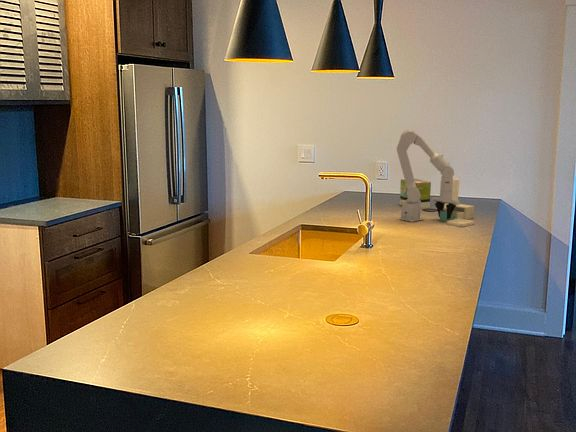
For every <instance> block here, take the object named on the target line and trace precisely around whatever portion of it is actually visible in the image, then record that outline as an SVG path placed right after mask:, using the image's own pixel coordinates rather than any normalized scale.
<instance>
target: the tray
mask: <svg viewBox="0 0 576 432" xmlns="http://www.w3.org/2000/svg"><path fill="white" fill-rule="evenodd" d="M445 224H446V225H448V226H454V227H458V228H464V227H468V226H473V225H475V220H470V219H466V220H465V219H456V218H454V220H450V221H445Z"/></svg>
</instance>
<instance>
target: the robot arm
mask: <svg viewBox="0 0 576 432" xmlns="http://www.w3.org/2000/svg"><path fill="white" fill-rule="evenodd" d="M412 144H413V145H414V146H417V147H418V146H419V147H420V148H421V149H422V150H423V152H424V153H426V155H427V156H428V157H429V163H431V164H432V166H433V167H434V168H436V170H437V171H439V172H440V175H441V179H440V191H439V197H432V198H431V202H433V203H434V206H435V209H436V210H437V215H438V217H439V218H440V210H445V209H446V208H447V219H450V218H451V215H452V212H453V210H454V208H455V207H456V205H460V204H461V202H460V201H459V200H458V201H456V200H453V199H452V188H453V178H454V176H455V171H454V168H453V167H452V166H451V165H450V163H449V162H448V161H446V159H445V158H444V155H443V154H440V153H439V152H438V153H436V152H435V151H434V150H433V148H431V147H430V146H429V144H428V143H427V142H426V140H425V139H423V138H422V136H420V135H419V134H417V133H416V132H415V131H414V130H413V129H409V128H408V129H406V130H404V131H403V132H402V134H401V135H400V138H399V140H398V143H397V146H396V152H397V156H398V159H399V163H400V168H401V171H402V175H403V177H404V178H403V179H405V182H406V186H407V197H408V199H407V200H406V203H404V204H403V205H401V208H400V209H401V210H400V217H399V220H400V221H406V222H410V223H411V222H418V221H423V220H424V218H422V217H421V209H420V208H421V201H420V200H419V199H420V197H421V194H420V192H419V189H418V188H417V187H416V184H415V180H414V179H415V178H414V173H413V170H412V167H411V162H410V159H409V155H408V152H407V151H408V150H409V148H410V146H411V145H412ZM445 203H447V204H448V205H446V208H444V205H445Z"/></svg>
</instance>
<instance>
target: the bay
mask: <svg viewBox="0 0 576 432" xmlns="http://www.w3.org/2000/svg"><path fill="white" fill-rule="evenodd" d="M474 215H475V206H474V205H469V204H464V203H463V204H462V203H460V205H456V207H455V208H454V219H464V220H470V219H474Z"/></svg>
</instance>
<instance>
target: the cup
mask: <svg viewBox="0 0 576 432" xmlns="http://www.w3.org/2000/svg"><path fill="white" fill-rule="evenodd" d="M459 187H460V178H458V177H453V188H452V199H453V200H456V201H459V191H460V189H459ZM446 205H448V204H447V203H445V205H444V209H447V208H446Z"/></svg>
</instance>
